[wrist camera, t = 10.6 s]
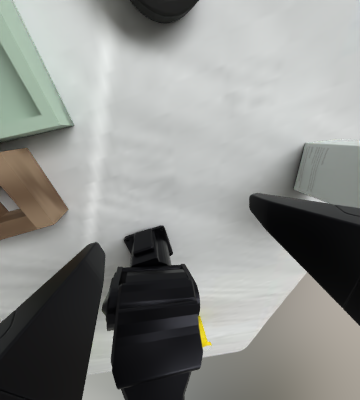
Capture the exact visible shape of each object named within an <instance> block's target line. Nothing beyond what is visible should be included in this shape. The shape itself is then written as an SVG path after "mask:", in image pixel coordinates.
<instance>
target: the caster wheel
mask: <svg viewBox="0 0 360 400" xmlns="http://www.w3.org/2000/svg"><path fill="white" fill-rule="evenodd" d="M130 1H131V2H132V4H133V5H134V6H135V7H136V9H138V10H139V11H140V12H141V13H142V14H143V15H145V16H146V17H148V18H150V19H151V20H154V21H157V22H160V23H170V22H174V21H176V20H178V19H180V18H181V17H183V16H184V15H185V14H186V13H187V12H188V11H190V10H191V9H192V7H193V6H194V5H195V4H196V3H197V2H198V1H199V0H130Z"/></svg>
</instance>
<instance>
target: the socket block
mask: <svg viewBox="0 0 360 400" xmlns="http://www.w3.org/2000/svg"><path fill="white" fill-rule="evenodd" d="M0 186H1V187H2V188H3V189H4V190H5V191H6V193H7V194H8V195H9V196H10V197H11V198H12V200H13V201H14V202H15V203H16V204H17V205H18V207H19V208H20V209H17V210H13V211H10V212H9V211H8V210H7V209H6V208H5V207H4V206H3V205H2V204H1V202H0V240H2V239H5V238H9V237H12V236H16V235H19V234H23V233H26V232H30V231H33V230H37V229H40V228H44V227H47V226H50V225H54V224H55V223H56V222H57V221H58V220H59V219H60V218H61V217H62V216H63V215H64V214H65V213H66V212H67V210H68V208H67V206H66V205H65V203H64V202H63V200H62V199H61V197H60V196H59V194H58V193H57V191H56V190H55V188H54V187H53V185H52V184H51V182H50V181H49V179H48V178H47V177H46V175H45V174H44V172H43V171H42V169H41V168H40V166H39V165H38V163H37V162H36V160H35V159H34V157H33V156H32V154H31V153H30V151H29V150H28V148H22V149H16V150H9V151H3V152H0Z"/></svg>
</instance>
